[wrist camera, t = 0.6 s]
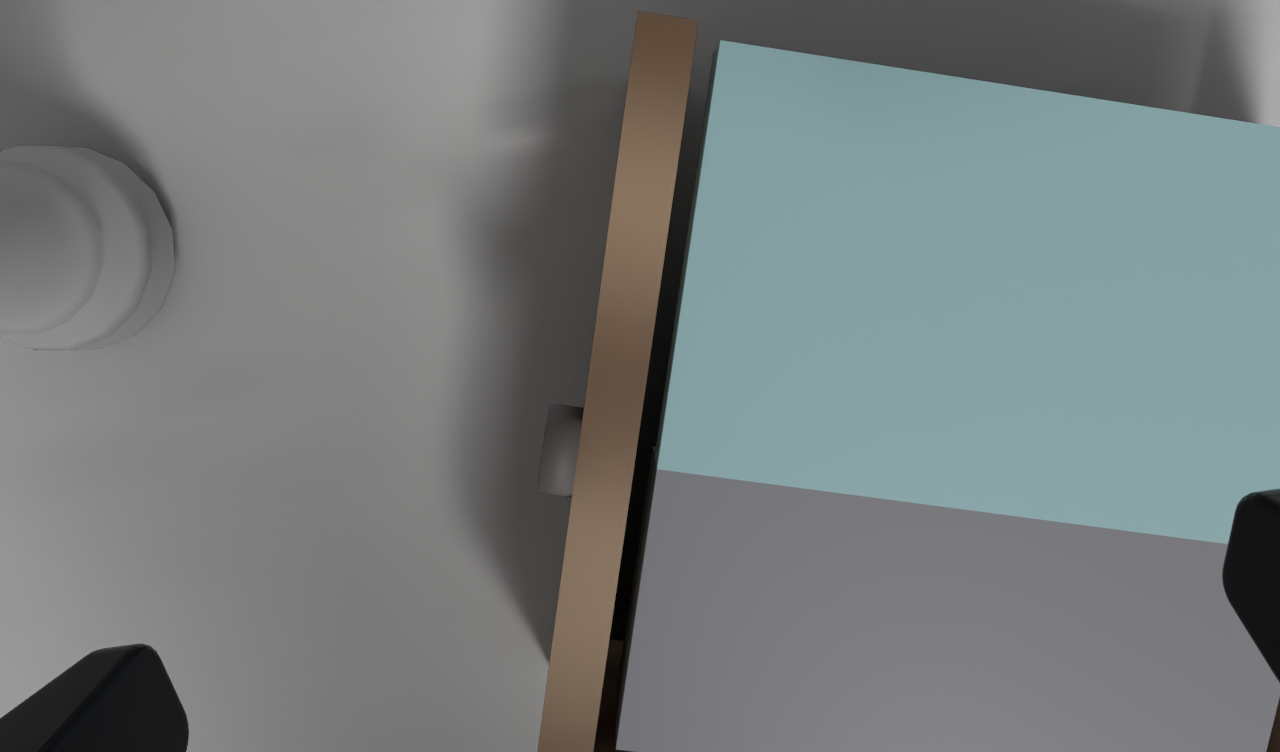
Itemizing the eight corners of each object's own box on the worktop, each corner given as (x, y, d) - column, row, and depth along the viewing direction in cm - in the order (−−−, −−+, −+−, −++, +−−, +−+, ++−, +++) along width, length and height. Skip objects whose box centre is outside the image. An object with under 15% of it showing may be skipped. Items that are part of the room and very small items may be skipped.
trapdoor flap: (1185, 765, 19) (1248, 823, 17) (615, 698, 18) (615, 749, 16) (1327, 159, 17) (1415, 148, 15) (708, 64, 17) (720, 39, 15)
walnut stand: (1160, 741, 23) (1346, 906, 17) (526, 664, 22) (495, 810, 16) (1291, 177, 21) (1547, 148, 15) (604, 72, 20) (601, 0, 14)
